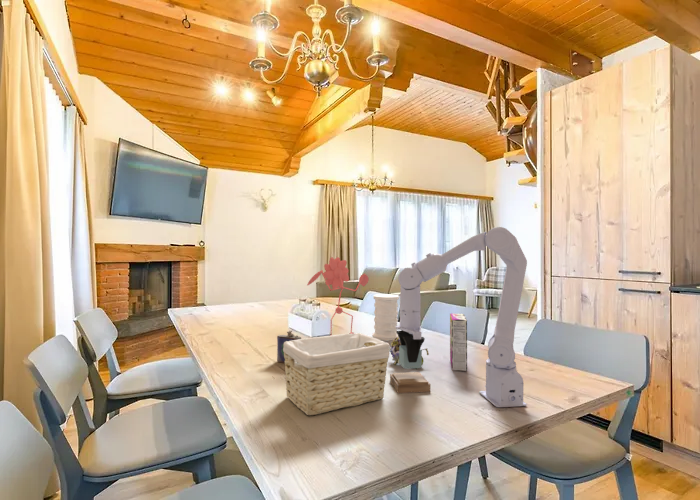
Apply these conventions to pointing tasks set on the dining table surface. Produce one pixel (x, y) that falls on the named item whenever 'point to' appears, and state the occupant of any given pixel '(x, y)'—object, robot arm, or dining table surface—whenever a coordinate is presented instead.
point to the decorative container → (385, 317)
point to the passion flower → (395, 351)
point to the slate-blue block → (404, 358)
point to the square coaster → (409, 382)
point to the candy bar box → (458, 342)
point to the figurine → (338, 280)
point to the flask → (280, 345)
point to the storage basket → (335, 371)
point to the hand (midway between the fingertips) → (409, 359)
